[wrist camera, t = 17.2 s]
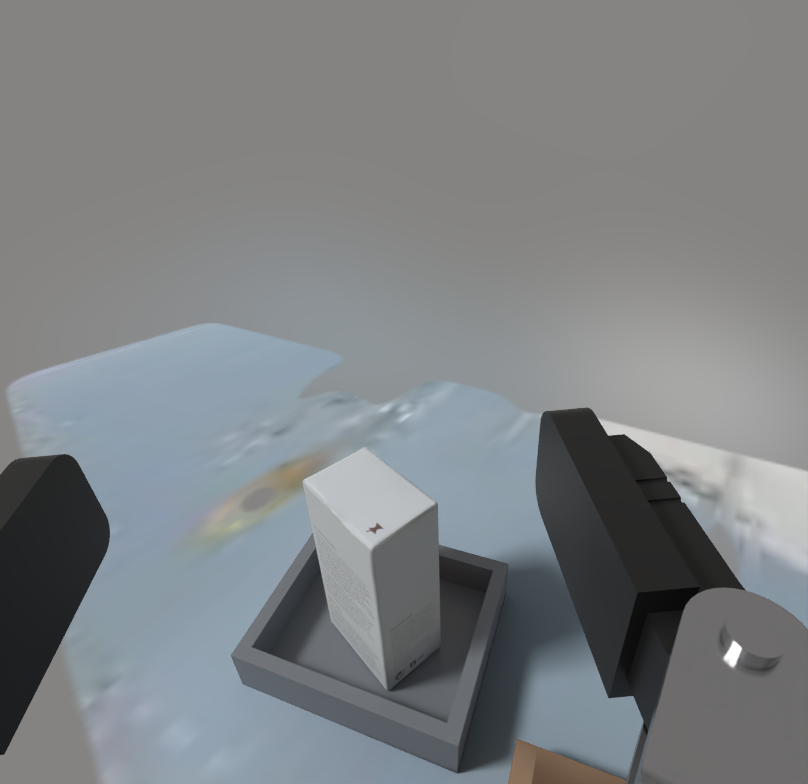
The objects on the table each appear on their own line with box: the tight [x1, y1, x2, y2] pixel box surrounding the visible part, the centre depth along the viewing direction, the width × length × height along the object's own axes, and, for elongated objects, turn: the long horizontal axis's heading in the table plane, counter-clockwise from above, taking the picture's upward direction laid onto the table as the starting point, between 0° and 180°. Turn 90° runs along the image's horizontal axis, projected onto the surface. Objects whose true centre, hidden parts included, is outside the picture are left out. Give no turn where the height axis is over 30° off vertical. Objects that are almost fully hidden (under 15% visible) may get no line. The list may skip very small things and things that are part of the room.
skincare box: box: [303, 447, 441, 691], centre depth 29 cm, size 6×4×12 cm
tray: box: [231, 534, 508, 773], centre depth 32 cm, size 11×13×3 cm
